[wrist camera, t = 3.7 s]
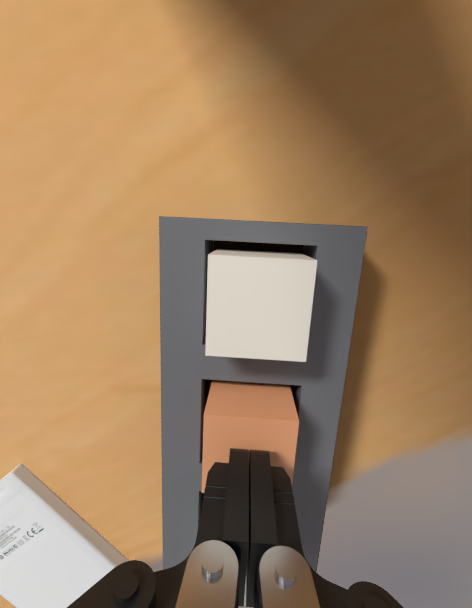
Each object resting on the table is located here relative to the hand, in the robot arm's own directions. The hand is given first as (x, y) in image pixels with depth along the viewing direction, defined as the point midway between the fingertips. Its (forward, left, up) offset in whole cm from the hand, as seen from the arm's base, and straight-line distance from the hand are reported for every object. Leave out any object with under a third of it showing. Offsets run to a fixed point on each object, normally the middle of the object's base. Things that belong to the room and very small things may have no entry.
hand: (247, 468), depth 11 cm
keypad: (0, 0, -5) cm, 5 cm away
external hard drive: (+13, -12, -6) cm, 19 cm away
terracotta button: (0, 0, -4) cm, 4 cm away
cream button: (-6, 0, -4) cm, 7 cm away
